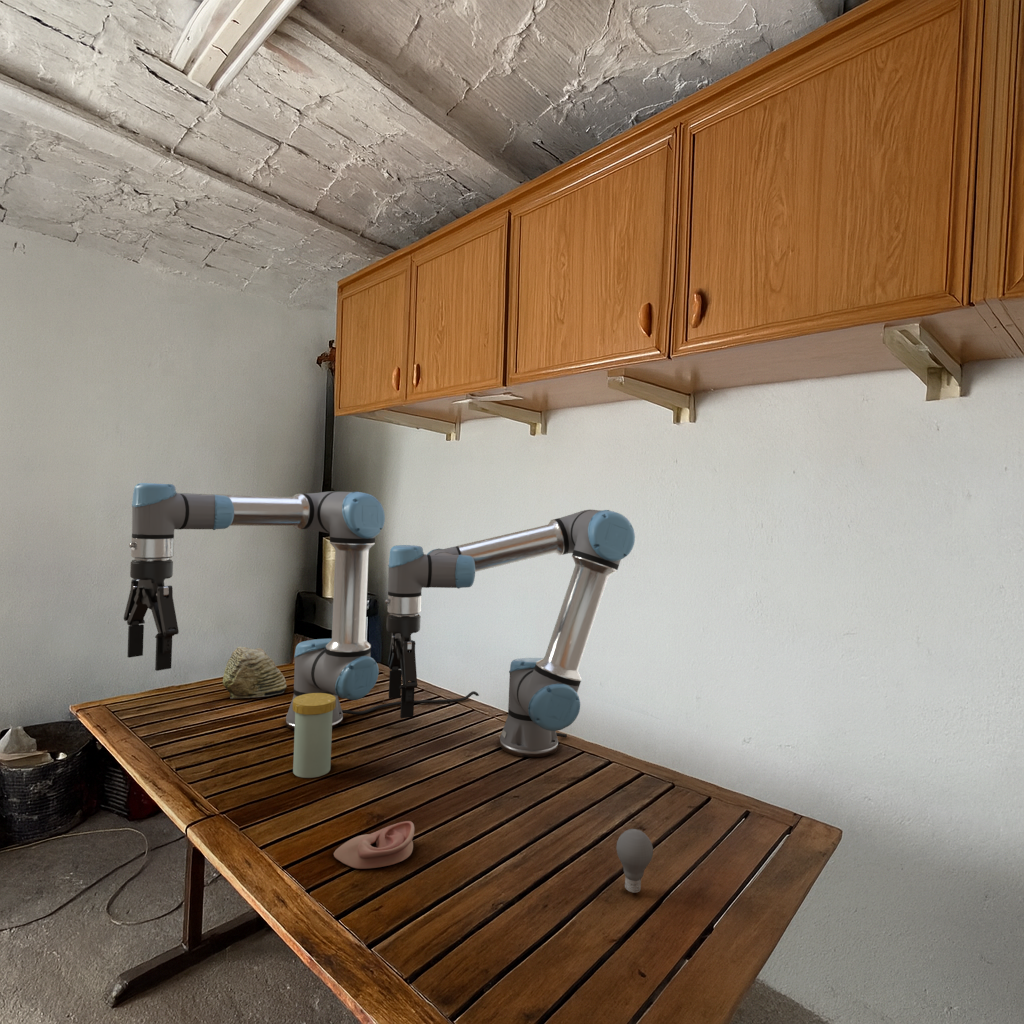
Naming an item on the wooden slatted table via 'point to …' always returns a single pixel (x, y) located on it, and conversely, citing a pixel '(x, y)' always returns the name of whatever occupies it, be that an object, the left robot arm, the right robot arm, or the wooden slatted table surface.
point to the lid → (314, 703)
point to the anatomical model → (378, 847)
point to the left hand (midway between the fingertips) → (148, 662)
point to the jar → (312, 744)
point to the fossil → (252, 674)
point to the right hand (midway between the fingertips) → (400, 707)
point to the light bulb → (634, 857)
